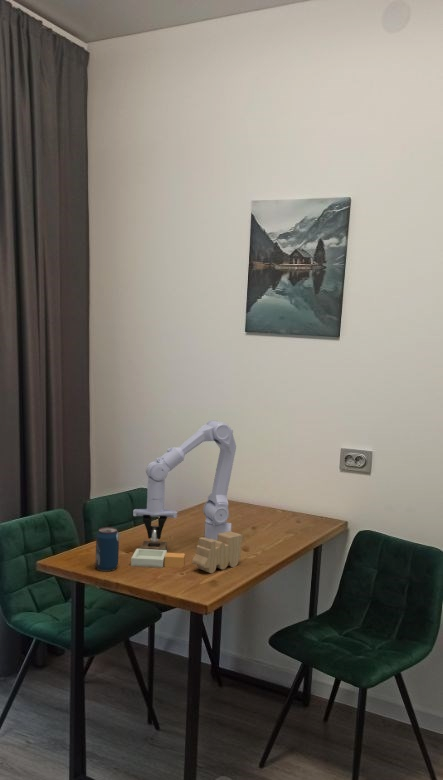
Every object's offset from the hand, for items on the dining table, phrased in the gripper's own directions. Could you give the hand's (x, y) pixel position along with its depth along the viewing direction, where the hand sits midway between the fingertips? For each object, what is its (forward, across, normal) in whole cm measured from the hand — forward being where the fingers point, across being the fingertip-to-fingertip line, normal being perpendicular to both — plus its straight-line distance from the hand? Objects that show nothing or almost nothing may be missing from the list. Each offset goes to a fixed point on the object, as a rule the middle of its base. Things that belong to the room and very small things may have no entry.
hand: (154, 537), depth 215 cm
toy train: (+5, -22, +12) cm, 26 cm away
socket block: (+5, 0, 0) cm, 5 cm away
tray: (+5, 0, +10) cm, 11 cm away
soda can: (+5, +12, +18) cm, 22 cm away
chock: (+5, -8, +12) cm, 16 cm away
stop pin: (+3, 0, 0) cm, 3 cm away
